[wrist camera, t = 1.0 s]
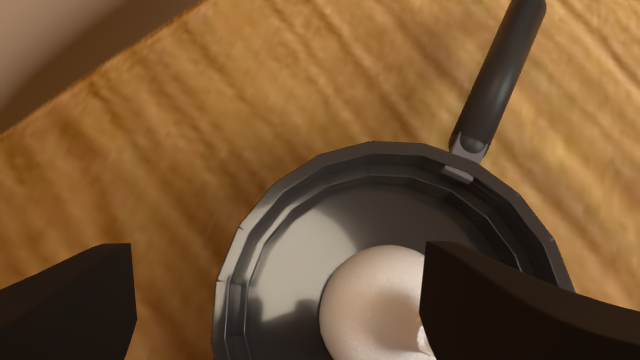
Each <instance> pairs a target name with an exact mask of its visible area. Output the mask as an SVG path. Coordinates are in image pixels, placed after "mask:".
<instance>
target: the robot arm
mask: <svg viewBox="0 0 640 360" xmlns="http://www.w3.org/2000/svg"><path fill="white" fill-rule="evenodd" d="M419 316H420V319H421V322H422V325H423V328H424V331H425V334H426V337H427V340H428V343H429V345H430V348H431V350H432V352H433V354H434V356H435V358H436V360H640V312H639V311H635V310H631V309H627V308H623V307H619V306H616V305H612V304H609V303H605V302H602V301H598V300H595V299H592V298H589V297H586V296H583V295H580V294H577V293H574V292H571V291H568V290H565V289H563V288H560V287H557V286H554V285H552V284H550V283H547V282H545V281H542V280H540V279H537V278H535V277H532V276H530V275H528V274H525V273H523V272H521V271H519V270H516V269H514V268H512V267H510V266H508V265H505V264H503V263H501V262H499V261H497V260H495V259H492V258H490V257H488V256H486V255H484V254H482V253H480V252H477V251H475V250H473V249H471V248H468V247H466V246H464V245H461V244H458V243H455V242H452V241H426V248H425V257H424V266H423V276H422V285H421V295H420V304H419ZM136 321H137V312H136V301H135V289H134V278H133V266H132V255H131V243H118V244H101V245H97V246H95V247H92V248H90V249H87V250H85V251H83V252H81V253H79V254H77V255H74V256H72V257H70V258H68V259H66V260H64V261H62V262H60V263H58V264H56V265H54V266H52V267H50V268H48V269H45V270H43V271H41V272H39V273H37V274H35V275H33V276H30V277H28V278H26V279H24V280H21V281H19V282H17V283H15V284H12V285H10V286H8V287H6V288H3V289H1V290H0V360H124V358H125V356H126V353H127V350H128V347H129V344H130V341H131V338H132V335H133V331H134V328H135V325H136Z"/></svg>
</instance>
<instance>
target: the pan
mask: <svg viewBox="0 0 640 360" xmlns="http://www.w3.org/2000/svg"><path fill="white" fill-rule="evenodd" d="M445 165H447V166H450V167H452V168H455V169H458V170H461V171H464V172H466V173H469V174H470V175H471V176H473V177H474V179H473V181H472V182H470V183H469V184H465V183H463V182H461V181H459V180H457V179H455V178H453V177H450V176H448V175H446V174H444V173H442V172H441V168H443V167H444V166H445ZM426 241H452V242H455V243H458V244H461V245H464V246H466V247H468V248H471V249H473V250H475V251H477V252H480V253H482V254H484V255H486V256H488V257H490V258H492V259H495V260H497V261H499V262H501V263H503V264H505V265H508V266H510V267H512V268H514V269H516V270H519V271H521V272H523V273H525V274H528V275H530V276H532V277H535V278H537V279H540V280H542V281H545V282H547V283H550V284H552V285H554V286H557V287H560V288H563V289H565V290H568V291H571V292H574V293H576V292H575V290H574V287H573V285H572V282H571V280H570V277H569V274H568V272H567V269H566V267H565V264H564V262H563V259H562V257H561V254H560V252H559V249H558V247H557V244H556V242H555V240H554V238H553V237H552V235H551V234H550V233H549V231H548V230H547V229H546V228H545V226H544V225H543V224H542V222H541V221H540V220H539V219H538V217H537V216H536V215H535V213H534V212H533V211H532V209H531V208H530V207H529V206H528V204H527V203H526V202H525V200H524V199H523V198H522V197H521V195H520V194H519V193H518V192H516V191H515V190H513V189H512V188H511V187H509V186H508V185H507V184H505V183H504V182H502V181H501V180H500V179H498V178H497V177H496V176H494V175H493V174H491V173H490V172H489V171H487V170H486V169H485V168H483V167H482V166H481V165H479V164H478V163H476V162H474V161H472V160H470V159H467V158H464V157H461V156H458V155H455V154H453V153H450V152H447V151H444V150H441V149H438V148H436V147H433V146H430V145H427V144H423V143H406V142H383V141H371V142H370V141H368V142H365V143H361V144H357V145H353V146H349V147H346V148H342V149H338V150H334V151H331V152H327V153H323V154H320V155H318V156H316V157H314V158H313V159H311V160H310V161H308V162H307V163H305V164H303V165H302V166H300V167H299V168H297V169H296V170H294V171H292V172H291V173H289V174H288V175H286V176H285V177H283V178H281V179H280V180H278V181H277V182H275V183H274V184H273V185H272V186H271V187H270V188H269V190H268V191H267V192H266V193H265V194H264V196H263V197H262V198H261V199H260V200H259V202H258V203H257V204H256V205H255V206H254V208H253V209H252V210H251V211H250V212H249V214H248V215H247V216H246V217H245V218H244V220H243V221H242V222H241V223H240V224H239V226H238V228H237V230H236V232H235V235H234V237H233V240H232V242H231V244H230V247H229V249H228V252H227V254H226V257H225V259H224V261H223V264H222V266H221V269H220V271H219V274H218V276H217V279H216V280H217V281H216V283H215V295H214V307H213V318H212V330H211V345H212V350H213V354H214V359H215V360H334V359H333V358H332V356H331V354H330V353H329V351H328V349H327V348H326V345H325V343H324V340H323V337H322V334H321V333H320V331H321V330H320V322H319V313H320V304H321V299H322V296H323V293H324V289H325V287H326V285H327V282H328V280H329V279H330V277H331V276H332V274H333V273H334V272H335V270H336V269H337V268H338V267H339V266H340V265H341V264H342V263H343V262H344V261H345V260H347V259H348V258H350V257H351V256H353V255H354V254H356V253H358V252H360V251H362V250H364V249H367V248H370V247H374V246H380V245H395V246H402V247H406V248H410V249H412V250H415V251H417V252H419V253H421V254H423V255H424V256H425V248H426Z"/></svg>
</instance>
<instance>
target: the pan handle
mask: <svg viewBox="0 0 640 360" xmlns="http://www.w3.org/2000/svg"><path fill="white" fill-rule="evenodd" d="M545 13H546V2H545V0H512V1H511V3H510V4H509V7H508V9H507V11H506V13H505V16H504V18H503V20H502V22H501V25H500V27H499V29H498V31H497V34H496V36H495V38H494V40H493V42H492V45H491V47H490V49H489V51H488V54H487V56H486V58H485V60H484V63H483V65H482V67H481V69H480V72H479V74H478V76H477V78H476V81H475V83H474V85H473V87H472V90H471V92H470V94H469V96H468V99H467V101H466V103H465V105H464V108H463V110H462V112H461V114H460V117H459V119H458V121H457V123H456V126H455V128H454V130H453V132H452V134H451V137H450V139H449V152H450V153H453V154H455V155H458V156H461V157H464V158H467V159H470V160H472V161H474V162H476V163H478V164H480V162H481V160H482V158H483V157H484V156H485V155H486V153H487V151H488V149H489V146H490V144H491V141H492V139H493V137H494V134H495V132H496V130H497V127H498V125H499V122H500V120H501V118H502V115H503V113H504V111H505V108H506V106H507V104H508V101H509V99H510V96H511V94H512V92H513V89H514V87H515V85H516V82H517V80H518V77H519V75H520V73H521V70H522V68H523V66H524V63H525V61H526V59H527V56H528V54H529V51H530V49H531V47H532V44H533V42H534V40H535V37H536V35H537V32H538V30H539V28H540V25H541V23H542V21H543V18H544V16H545ZM441 172H442V173H444V174H446V175H448V176H450V177H453V178H455V179H457V180H459V181H461V182H463V183H465V184H469V183H470V182H472V181H473V179H474V177H473V176H471V175H470V174H469V173H466V172H464V171H461V170H458V169H455V168H452V167H450V166H447V165H445V166H444V167H443V168H441Z"/></svg>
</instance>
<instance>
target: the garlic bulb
mask: <svg viewBox="0 0 640 360" xmlns="http://www.w3.org/2000/svg"><path fill="white" fill-rule="evenodd" d="M424 257H425V256H424V255H423V254H421V253H419V252H417V251H415V250H412V249H410V248H406V247H402V246H395V245H380V246H374V247H370V248H367V249H364V250H362V251H360V252H358V253H356V254H354V255H353V256H351V257H350V258H348V259H347V260H345V261H344V262H343V263H342V264H341V265H340V266H339V267H338V268H337V269H336V270H335V272H334V273H333V274H332V276H331V277H330V279H329V280H328V282H327V285H326V287H325V289H324V293H323V296H322V299H321V304H320V313H319V322H320V330H321V331H320V333H321V334H322V337H323V340H324V343H325V345H326V348H327V349H328V351H329V353H330V354H331V356H332V358H333V359H334V360H436V358H435V356H434V354H433V352H432V350H431V348H430V345H429V343H428V340H427V337H426V334H425V331H424V328H423V325H422V322H421V319H420V316H419V304H420V295H421V285H422V276H423V266H424Z"/></svg>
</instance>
